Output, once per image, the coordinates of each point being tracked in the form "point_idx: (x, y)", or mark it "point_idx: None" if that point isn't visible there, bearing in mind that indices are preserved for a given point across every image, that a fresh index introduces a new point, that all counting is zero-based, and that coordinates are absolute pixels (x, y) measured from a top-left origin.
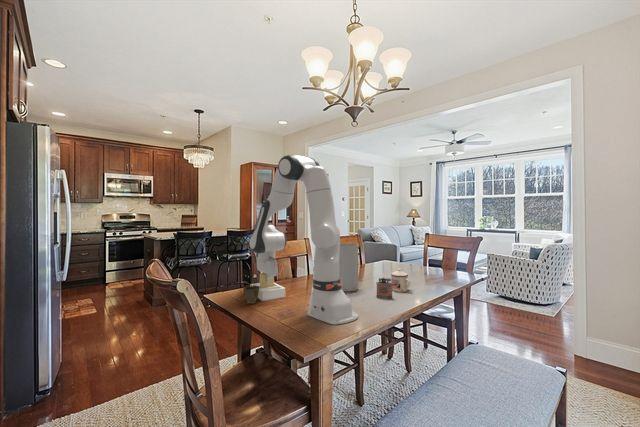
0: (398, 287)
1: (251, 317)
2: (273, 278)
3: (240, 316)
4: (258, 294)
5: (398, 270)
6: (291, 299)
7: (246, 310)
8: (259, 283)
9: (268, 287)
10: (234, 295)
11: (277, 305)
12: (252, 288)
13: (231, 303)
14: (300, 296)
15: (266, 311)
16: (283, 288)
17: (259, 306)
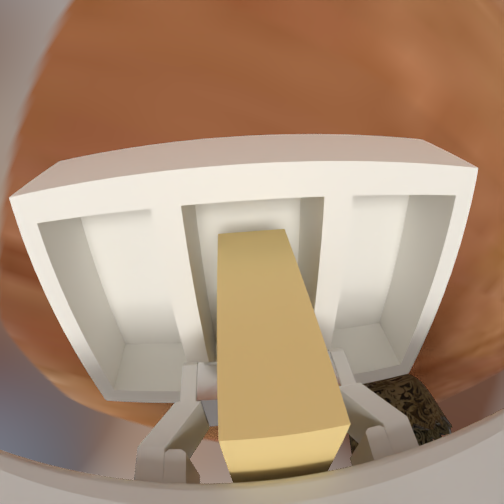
0: None
1: (488, 368)
2: (317, 334)
3: (455, 393)
4: (420, 387)
5: None
6: (489, 136)
7: (431, 384)
8: (89, 345)
9: (324, 320)
10: (161, 410)
11: (497, 266)
12: None
13: None
14: (471, 27)
15: (499, 325)
16: (471, 192)
17: (439, 344)
